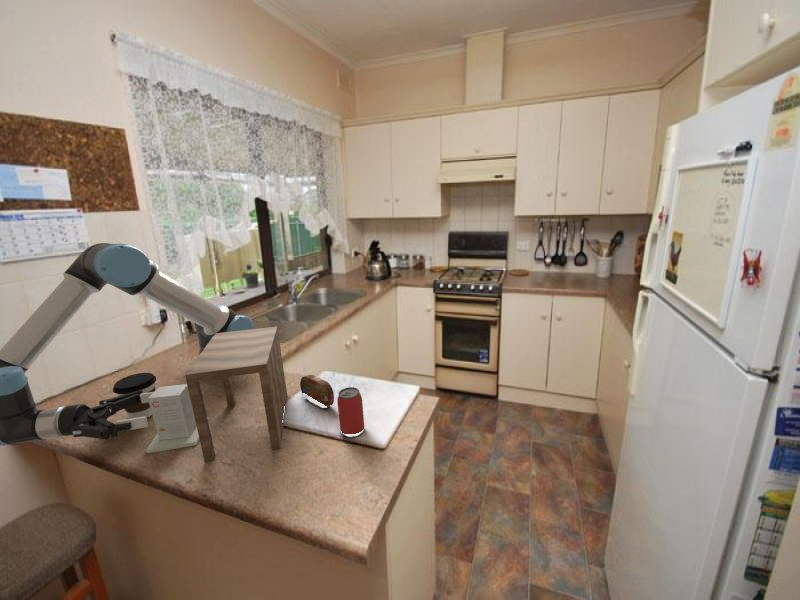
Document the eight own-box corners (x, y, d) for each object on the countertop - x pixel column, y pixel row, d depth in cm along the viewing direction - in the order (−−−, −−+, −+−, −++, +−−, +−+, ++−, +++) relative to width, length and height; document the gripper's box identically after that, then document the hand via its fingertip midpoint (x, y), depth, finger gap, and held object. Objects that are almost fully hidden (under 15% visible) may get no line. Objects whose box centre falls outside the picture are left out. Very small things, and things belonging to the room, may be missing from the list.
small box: (199, 423, 106) (190, 383, 102) (190, 437, 100) (179, 394, 96) (169, 427, 105) (159, 386, 101) (158, 441, 99) (146, 398, 95)
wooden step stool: (229, 403, 118) (215, 333, 111) (287, 394, 121) (277, 326, 115) (204, 462, 91) (184, 374, 85) (279, 448, 95) (266, 363, 88)
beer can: (338, 428, 102) (333, 389, 99) (360, 421, 105) (357, 383, 102) (344, 441, 97) (339, 401, 93) (367, 434, 99) (364, 394, 96)
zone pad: (164, 426, 107) (163, 423, 107) (208, 419, 109) (208, 416, 109) (146, 453, 96) (146, 450, 95) (196, 445, 98) (196, 441, 98)
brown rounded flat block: (300, 397, 120) (297, 373, 117) (309, 393, 122) (306, 370, 120) (328, 413, 110) (325, 388, 107) (337, 408, 112) (334, 384, 110)
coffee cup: (113, 422, 111) (102, 386, 107) (148, 403, 121) (139, 369, 117) (138, 428, 107) (128, 391, 104) (172, 408, 117) (163, 373, 114)
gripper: (96, 408, 107) (176, 396, 112) (36, 466, 84) (140, 448, 88) (89, 385, 105) (171, 374, 110) (26, 437, 82) (133, 421, 86)
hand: (157, 407), depth 99 cm, fingers open, 13 cm apart
